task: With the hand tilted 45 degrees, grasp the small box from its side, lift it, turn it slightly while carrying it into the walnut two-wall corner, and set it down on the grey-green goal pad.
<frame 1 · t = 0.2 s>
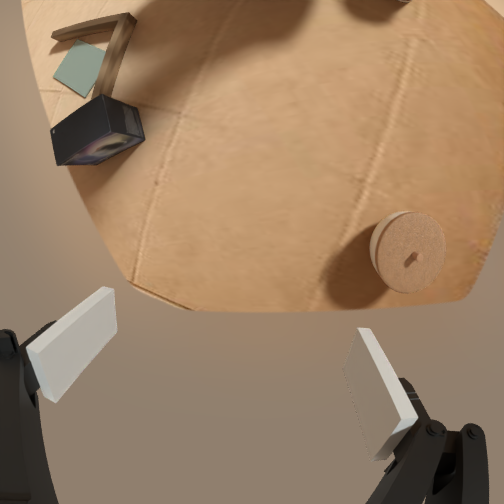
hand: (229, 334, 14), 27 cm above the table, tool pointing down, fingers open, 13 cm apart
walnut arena: (127, 27, 33), on the table
lidded jar: (392, 241, 39), on the table
goal pad: (81, 66, 36), on the table
small box: (116, 137, 39), on the table
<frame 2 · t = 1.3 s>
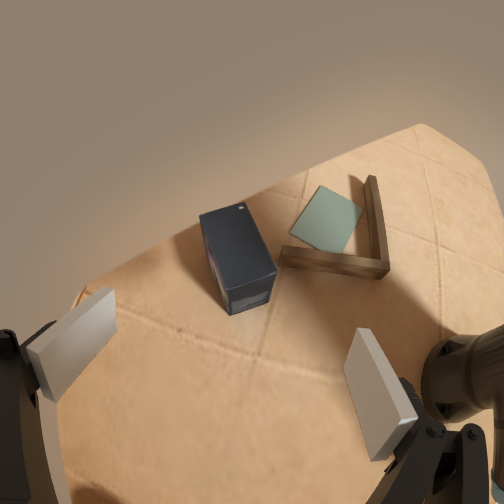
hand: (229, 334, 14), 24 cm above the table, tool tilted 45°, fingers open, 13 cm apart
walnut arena: (372, 270, 43), on the table
goal pad: (329, 220, 47), on the table
small box: (235, 278, 41), on the table
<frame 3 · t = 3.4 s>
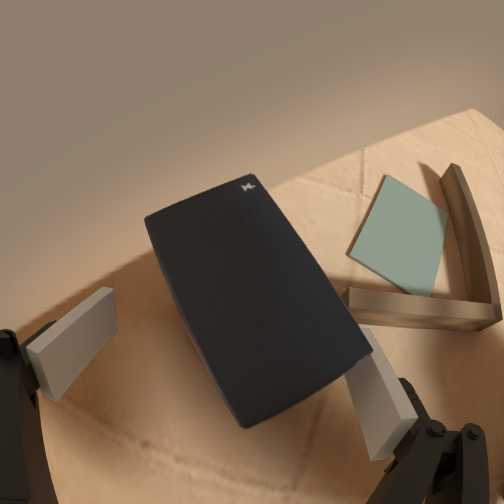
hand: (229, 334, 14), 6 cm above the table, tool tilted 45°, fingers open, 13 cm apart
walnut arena: (470, 316, 21), on the table
goal pad: (407, 232, 25), on the table
small box: (244, 334, 21), on the table
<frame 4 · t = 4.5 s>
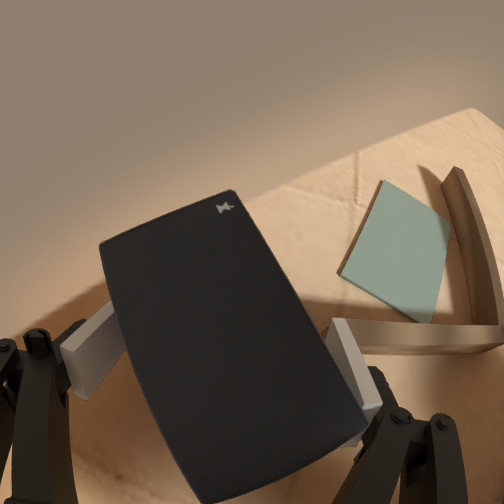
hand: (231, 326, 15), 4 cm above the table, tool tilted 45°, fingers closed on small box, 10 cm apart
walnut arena: (474, 337, 18), on the table
goal pad: (406, 245, 23), on the table
small box: (227, 366, 18), on the table, touching gripper
when the fingers open (6 cm above the table, at t = 10.3 s): small box drops 1 cm, resting on goal pad.
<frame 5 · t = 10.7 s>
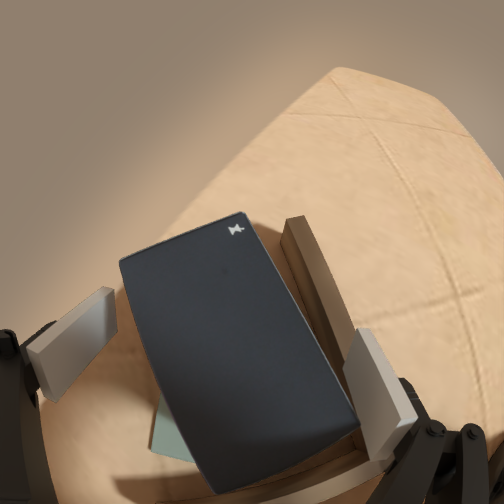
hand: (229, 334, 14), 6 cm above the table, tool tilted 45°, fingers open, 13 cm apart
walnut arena: (356, 449, 16), on the table
goal pad: (226, 383, 18), on the table
small box: (232, 369, 19), resting on goal pad
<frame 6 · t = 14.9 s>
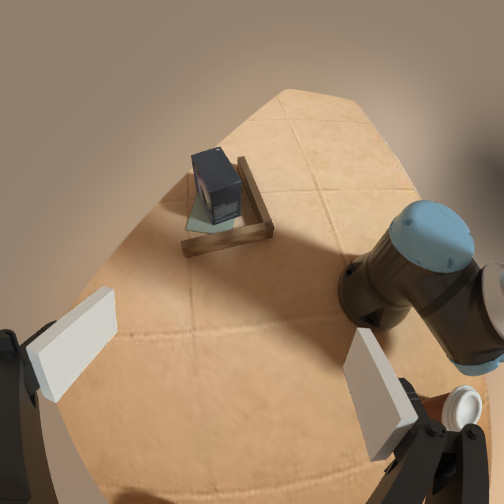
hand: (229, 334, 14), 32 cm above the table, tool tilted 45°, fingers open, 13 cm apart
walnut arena: (262, 232, 55), on the table
coffee cup: (427, 413, 38), on the table
goal pad: (214, 207, 57), on the table
small box: (217, 203, 58), resting on goal pad
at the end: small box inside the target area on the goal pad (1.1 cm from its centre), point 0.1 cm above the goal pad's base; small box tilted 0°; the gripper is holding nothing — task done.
